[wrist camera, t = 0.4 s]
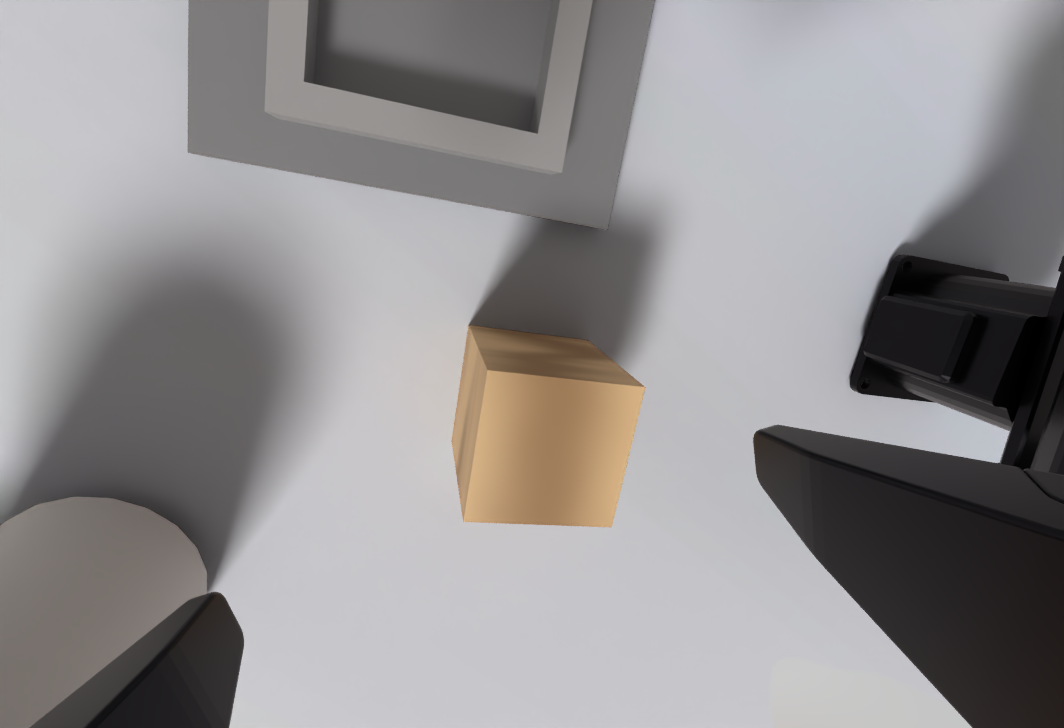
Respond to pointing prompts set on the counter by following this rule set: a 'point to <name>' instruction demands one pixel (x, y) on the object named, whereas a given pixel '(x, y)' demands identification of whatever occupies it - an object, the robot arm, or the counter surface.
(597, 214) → the grey tray
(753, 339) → the counter surface
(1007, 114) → the counter surface
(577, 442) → the oak block
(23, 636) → the can
